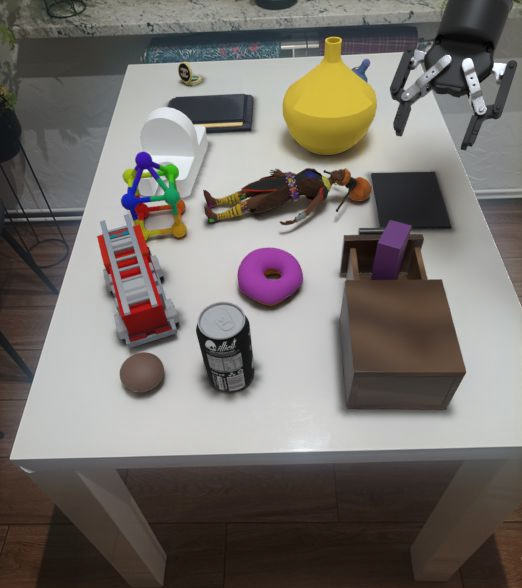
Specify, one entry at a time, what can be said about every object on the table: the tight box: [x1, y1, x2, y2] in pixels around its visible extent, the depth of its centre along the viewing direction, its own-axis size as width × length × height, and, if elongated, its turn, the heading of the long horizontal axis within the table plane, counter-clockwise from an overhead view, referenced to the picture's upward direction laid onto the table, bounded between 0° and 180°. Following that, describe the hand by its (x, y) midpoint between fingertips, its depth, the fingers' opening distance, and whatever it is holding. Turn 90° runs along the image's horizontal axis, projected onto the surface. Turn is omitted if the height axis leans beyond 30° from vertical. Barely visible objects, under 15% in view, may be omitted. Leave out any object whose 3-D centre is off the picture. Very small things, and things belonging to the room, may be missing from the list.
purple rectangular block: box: [371, 220, 412, 280], centre depth 67 cm, size 5×3×11 cm, turn 153°
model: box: [120, 151, 188, 242], centre depth 80 cm, size 11×10×15 cm
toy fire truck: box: [96, 213, 181, 349], centre depth 71 cm, size 9×19×10 cm, turn 20°
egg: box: [119, 351, 165, 393], centre depth 65 cm, size 6×6×4 cm
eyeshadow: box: [177, 61, 203, 86], centre depth 116 cm, size 4×5×5 cm
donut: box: [236, 247, 304, 307], centre depth 74 cm, size 10×10×5 cm
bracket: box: [137, 106, 209, 199], centre depth 92 cm, size 19×10×11 cm, turn 172°
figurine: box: [202, 167, 373, 226], centre depth 85 cm, size 16×8×30 cm
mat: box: [370, 171, 453, 230], centre depth 86 cm, size 12×16×1 cm
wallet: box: [167, 93, 255, 134], centre depth 107 cm, size 20×2×15 cm
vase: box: [282, 36, 378, 156], centre depth 91 cm, size 18×18×19 cm
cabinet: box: [339, 278, 467, 410], centre depth 62 cm, size 15×13×9 cm
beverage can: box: [195, 301, 255, 392], centre depth 61 cm, size 7×7×12 cm
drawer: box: [339, 227, 428, 280], centre depth 70 cm, size 18×12×7 cm, turn 178°
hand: (430, 141), depth 62 cm, fingers open, 8 cm apart
